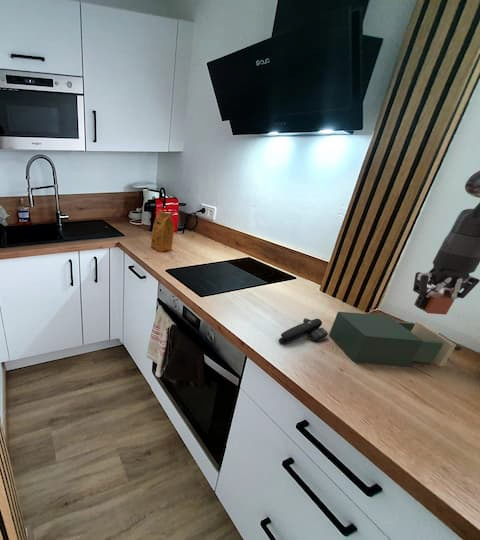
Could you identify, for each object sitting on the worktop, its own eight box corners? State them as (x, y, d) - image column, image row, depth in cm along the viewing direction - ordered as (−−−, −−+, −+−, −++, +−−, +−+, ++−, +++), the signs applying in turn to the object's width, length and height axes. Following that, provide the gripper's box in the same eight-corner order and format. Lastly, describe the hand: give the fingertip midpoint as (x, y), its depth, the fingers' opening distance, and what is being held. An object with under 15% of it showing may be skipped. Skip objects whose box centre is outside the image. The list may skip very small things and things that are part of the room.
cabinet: (376, 339, 91) (388, 315, 88) (408, 367, 80) (423, 340, 76) (328, 335, 92) (337, 311, 89) (353, 362, 81) (365, 336, 77)
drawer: (425, 342, 89) (437, 322, 86) (462, 367, 79) (476, 346, 76) (364, 337, 91) (372, 317, 88) (391, 361, 80) (402, 340, 77)
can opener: (309, 327, 96) (314, 313, 94) (329, 339, 90) (335, 324, 88) (269, 337, 91) (273, 322, 88) (288, 351, 85) (293, 335, 82)
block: (431, 306, 81) (438, 291, 79) (446, 314, 77) (454, 299, 75) (413, 304, 82) (420, 290, 80) (427, 313, 77) (435, 298, 75)
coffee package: (162, 244, 174) (165, 208, 165) (173, 251, 163) (178, 212, 155) (148, 246, 170) (150, 209, 161) (159, 253, 160) (162, 214, 151)
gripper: (444, 254, 69) (413, 313, 76) (509, 258, 68) (471, 318, 75) (418, 244, 76) (392, 300, 83) (476, 248, 75) (445, 304, 82)
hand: (430, 308), depth 79 cm, fingers closed on block, 4 cm apart
